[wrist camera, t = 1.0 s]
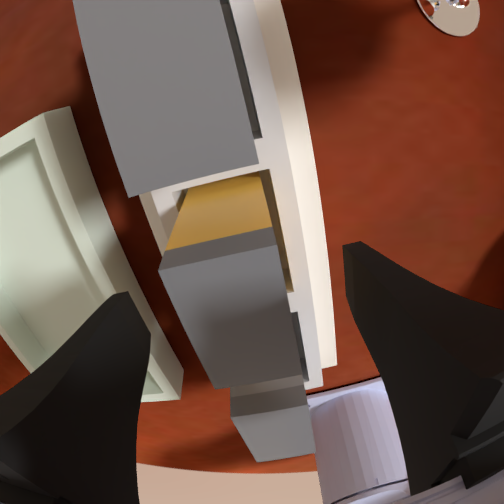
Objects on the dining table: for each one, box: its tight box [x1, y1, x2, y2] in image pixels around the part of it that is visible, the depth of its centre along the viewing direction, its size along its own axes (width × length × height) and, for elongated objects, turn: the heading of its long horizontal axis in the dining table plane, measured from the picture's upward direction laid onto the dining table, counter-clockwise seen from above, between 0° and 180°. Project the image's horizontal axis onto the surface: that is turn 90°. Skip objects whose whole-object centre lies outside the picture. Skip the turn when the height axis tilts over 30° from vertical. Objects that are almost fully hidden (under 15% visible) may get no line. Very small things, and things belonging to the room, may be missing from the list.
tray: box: [0, 106, 184, 402], centre depth 16 cm, size 18×11×2 cm, turn 12°
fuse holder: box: [139, 0, 337, 390], centre depth 14 cm, size 23×8×3 cm, turn 12°
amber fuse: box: [158, 171, 302, 389], centre depth 12 cm, size 5×3×7 cm, turn 12°
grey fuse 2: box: [230, 374, 316, 462], centre depth 16 cm, size 5×3×7 cm, turn 12°
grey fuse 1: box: [73, 0, 259, 198], centre depth 9 cm, size 5×3×7 cm, turn 13°
